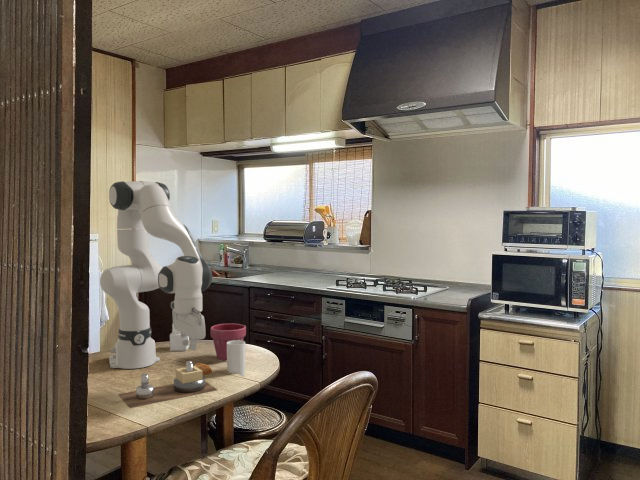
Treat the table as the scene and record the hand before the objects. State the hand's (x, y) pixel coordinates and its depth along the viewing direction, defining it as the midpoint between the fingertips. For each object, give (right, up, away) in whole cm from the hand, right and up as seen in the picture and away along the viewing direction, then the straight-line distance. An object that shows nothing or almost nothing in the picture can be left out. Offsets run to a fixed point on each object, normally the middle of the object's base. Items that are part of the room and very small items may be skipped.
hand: (189, 347), depth 171 cm
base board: (-6, -15, -3) cm, 17 cm away
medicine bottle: (-18, -12, +55) cm, 59 cm away
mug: (+13, -14, +21) cm, 28 cm away
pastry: (0, -14, +20) cm, 24 cm away
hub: (0, -14, +1) cm, 14 cm away
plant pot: (+6, -13, +42) cm, 44 cm away
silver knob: (-12, -14, -7) cm, 20 cm away
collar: (0, -11, +1) cm, 11 cm away
